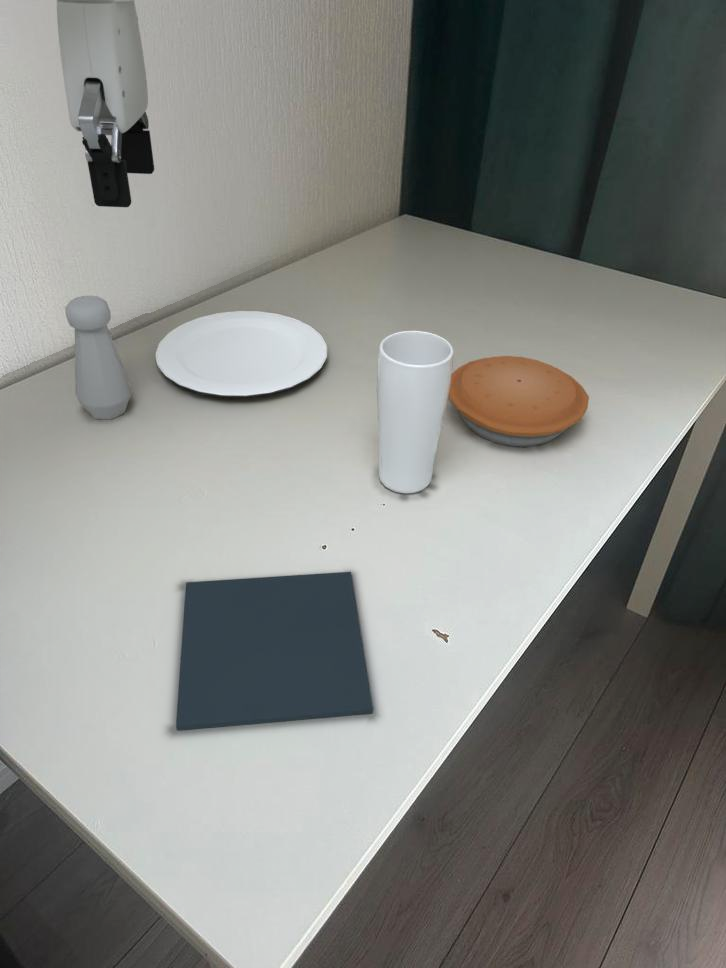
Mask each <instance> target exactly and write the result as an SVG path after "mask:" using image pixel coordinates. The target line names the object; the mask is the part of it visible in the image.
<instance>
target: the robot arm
mask: <svg viewBox="0 0 726 968" xmlns="http://www.w3.org/2000/svg"><path fill="white" fill-rule="evenodd" d="M56 21H57V33H58V43H59V53H60V60H61V61H60V62H61V69H62V75H63V82H64V83H63V84H64V90H65V97H66V103H67V111H68V117H69V122H70V125H71V127H72V128H73V129H74V130H75V132H81V134H82V135H83V137H81V138H82V140H81V143H82V145H83V146H84V156H85V160H86V162H87V168H88V172H89V173H88V174H89V178H90V179H89V180H90V185H91V190H92V195H93V201H94V205H96V206H98V207H105V208H106V207H107V208H129V207H130V206H131V205H132V195H131V189H130V183H129V182H130V181H129V175H128V174H138V175H139V174H142V175H152V174H153V173H154V171H155V163H154V155H153V147H152V139H151V131H150V129H149V127H150V126H149V125H150V123H149V118H148V115H147V112H146V111H147V109H148V107H149V93H148V82H147V72H146V64H145V57H144V50H143V44H142V38H141V31H140V25H139V17H138V13H137V8H136V3H135V0H56ZM107 136H111V139H110V141H111V143H110V141H109V138H108V137H107Z"/></svg>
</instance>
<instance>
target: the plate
mask: <svg viewBox="0 0 726 968" xmlns="http://www.w3.org/2000/svg"><path fill="white" fill-rule="evenodd" d="M327 359H328V345H327V343H326V341H325V340H324V337H323V335H322V334H320V333H319V332H318V331H317V330H316V329H315V328H313V326H311V325H309V324H307V323H305V322H303V321H301V320H299V319H297V318H293V317H290V316H287V315H283V314H280V313H274V312H267V311H260V310H259V311H258V310H253V311H252V310H236V311H235V310H234V311H224V312H217V313H213V314H209V315H204V316H199V317H197V318H194V319H192V320H189V321H186V322H184V323H181V324H180V325H179V326H177V327H176V328H174V329H172V330H171V331H169V332H168V333H167V334H166V335H165V336H164V337H163V338H162V339H161V340H160V342H158V345H157V348H156V351H155V360H156V365H157V368H158V369H159V371H160V372H161V373H162V375H164V377H165V378H167V379H168V380H169V381H171V382H173V383H174V384H176V385H177V386H179V387H181V388H184V389H187V390H189V391H193V392H195V393H198V394H202V395H208V396H209V395H210V396H213V397H214V396H215V397H220V398H251V397H260V396H268V395H273V394H276V393H279V392H283V391H287V390H290V389H293V388H295V387H297V386H299V385H301V384H303V383H305V382H308V381H309V380H310V379H311V378H312V377H314V376H315V375H316V374H317V373H318V372H320V371H321V370H322V368H323V367H324V364H325V363H326V361H327Z"/></svg>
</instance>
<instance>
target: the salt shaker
mask: <svg viewBox="0 0 726 968" xmlns="http://www.w3.org/2000/svg"><path fill="white" fill-rule="evenodd" d="M64 310H65V312H64V313H65V316H66V317H65V318H66V320H67V323H68V324H69V326H70V327H72V329H74V369H75V370H74V376H75V377H74V381H75V396H76V398H77V400H78V403H79V404H80V405H81V406H82V407H83V408H84V409H85V410H86V411H87V412H88V413H89V414H90V415H91V416H92V418H93V419H94V420H114V419H115V418H117V417H119V416H121V415H123V414H125V413H126V412H127V407H128V403H129V400H130V398H131V395H132V386H131V384H130V382H129V379H128V376H127V374H126V372H125V369H124V366H123V363H122V361H121V358H120V355H119V353H118V350H117V348H116V345H115V342H114V340H113V337H112V335H111V332H110V329H109V326H108V325H109V323H110V320H111V318H112V315H111V309H110V307H109V304H108V301H107V300H105V299H104V298H102V297H100V296H97V295H82V296H81V295H80V296H77V297H75V298H73V299H71V300H70V301H69V302H68V303H67V304H66V306H65V309H64Z"/></svg>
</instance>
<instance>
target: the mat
mask: <svg viewBox="0 0 726 968" xmlns="http://www.w3.org/2000/svg"><path fill="white" fill-rule="evenodd" d="M183 607H184V608H183V620H182V621H183V623H182V635H181V648H180V665H179V666H180V667H179V675H178V676H179V677H178V678H179V679H178V692H177V705H176V724H175V728H176V731H187V730H188V731H189V730H197V729H198V730H200V729H209V728H222V727H231V726H233V727H234V726H243V725H245V726H246V725H256V724H268V723H277V722H279V723H280V722H290V721H291V722H292V721H301V720H302V721H303V720H314V719H322V718H325V719H326V718H333V717H334V718H335V717H346V716H347V717H348V716H356V715H357V716H358V715H370V714H373V712H374V711H373V710H374V709H373V702H372V696H371V695H372V694H371V689H370V683H369V676H368V671H367V664H366V658H365V652H364V646H363V639H362V633H361V627H360V620H359V615H358V614H359V613H358V608H357V601H356V596H355V588H354V584H353V577H352V572H351V571H342V572H327V573H312V574H310V573H309V574H295V575H279V576H263V577H247V578H237V579H236V578H233V579H218V580H217V579H215V580H202V581H188V582H187V581H186V582H185V593H184V605H183Z"/></svg>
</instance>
